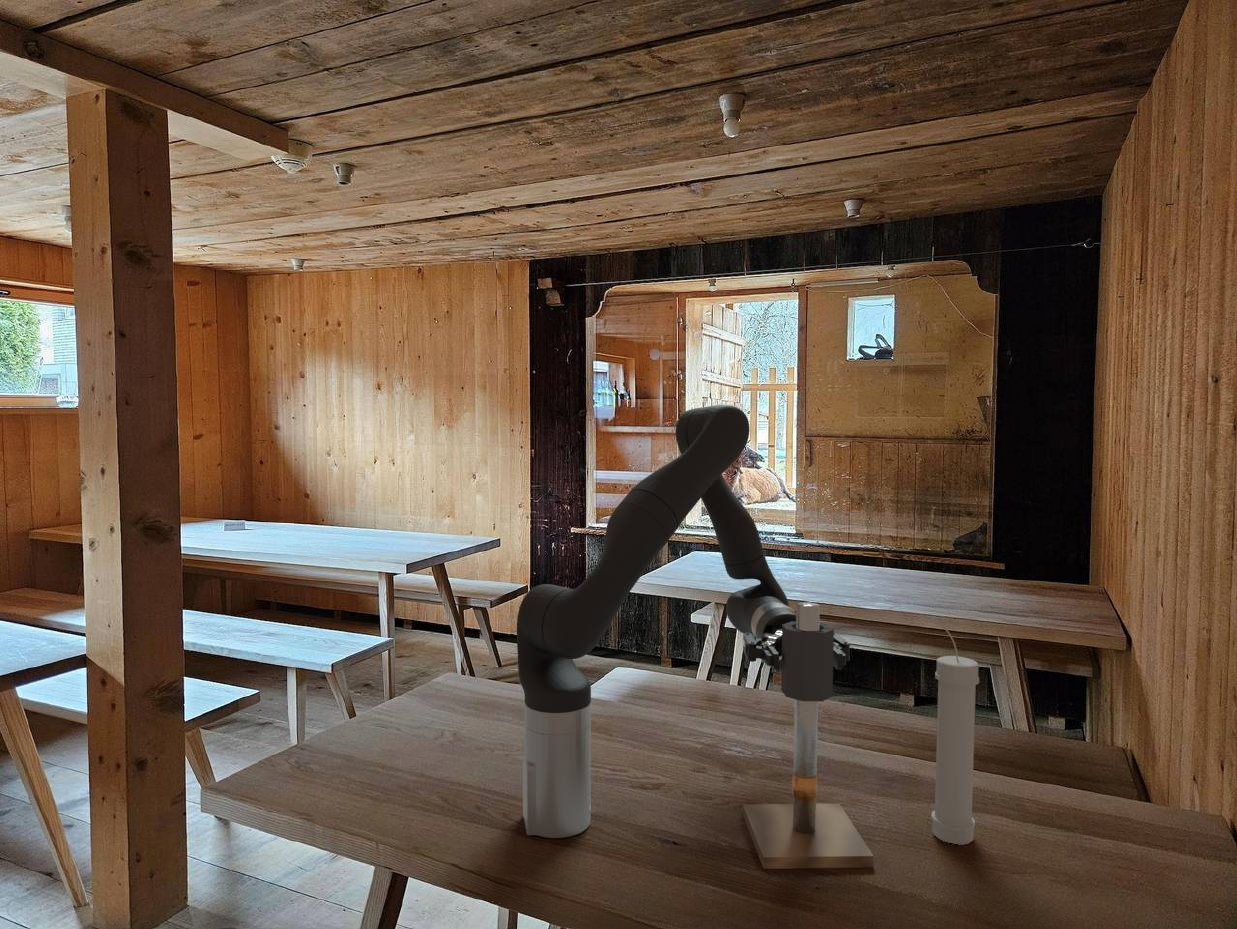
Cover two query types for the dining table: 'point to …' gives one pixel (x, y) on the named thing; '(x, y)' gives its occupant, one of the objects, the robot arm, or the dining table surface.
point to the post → (805, 802)
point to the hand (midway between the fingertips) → (808, 662)
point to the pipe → (955, 748)
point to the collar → (807, 662)
